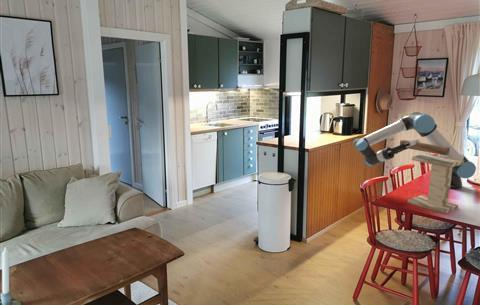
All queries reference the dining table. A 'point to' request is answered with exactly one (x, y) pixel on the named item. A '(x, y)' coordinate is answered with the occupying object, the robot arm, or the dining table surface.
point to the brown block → (428, 148)
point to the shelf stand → (437, 183)
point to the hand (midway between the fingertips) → (417, 141)
